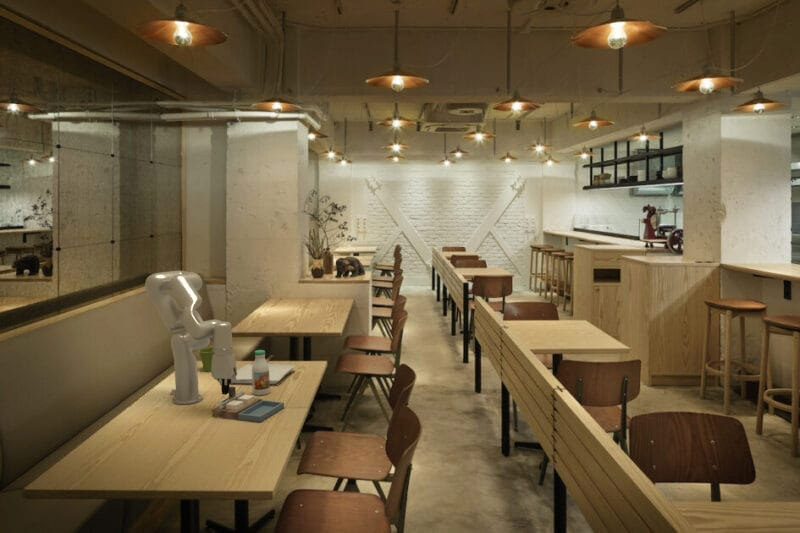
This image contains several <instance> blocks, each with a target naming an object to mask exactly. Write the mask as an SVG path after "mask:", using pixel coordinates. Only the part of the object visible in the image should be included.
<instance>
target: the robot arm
mask: <svg viewBox="0 0 800 533" xmlns="http://www.w3.org/2000/svg"><path fill="white" fill-rule="evenodd" d="M202 287H203V279H202V277H201V276H200V275H199V274H198V273H196V272H191V271H185V270H171V271H162V272H156V273H152V274H151V275H149V276H148V277H147V278H146V280H145V284H144V288H145V293H146V294H147V297H148V299H149V300H150V301H151V303H152V304H153V305H154V307H155V309H156V310H157V312H158V315H159V316H160V318H161V321H162V323H163V324H164V326H165V328H166V329H167V331H169V332H175V333H174V334H173V335H172V336H171V338H170V346H171V350H172V356H173V363H174V380H175V382H174V384H175V389H174V388H173V389H171V391H170V392H169V395H170V396H174V398H172V403H173V404H175V405H179V406H180V405H181V406H183V405H192V404H196V403H199V402H201V401H202V400H203V395H202V394H199V392H200V391H199V377H198V376H199V374H198V360H197V357H196V356H195V355H194V353H193V351H196V350H197V351H198V350H200V349H203V348H207V347H208V346H209V344H210V343H211V339H213V347H214V348H213V349H212V350H213V351H214V354H213V357H212V365H211V372H210V373H211V377H212V378H213V379H214V380H215V381H218V383H219V385H220V386H221V388H220V389H221V395H227V394H228V395H229V387H231V386H230V384H232V383H231V382H232V381H235V380H236V376H237V370H238V369H237V368H238V367H237V362H236V361H237V360H236V355H235V353H234V349H233V330H232V323H231V322H229V321H222V320H219V319H208V320H203V319H202V316H201V315H200V313H199V311H198V310H197V309H198V308H199V307H200V306H201V305H202V303H203V298H202V296H201V295H200V294H199V293H198V291H200V290H201V289H202ZM166 291H172V293H173V294H174V296H175V297H176V299H177V301H178V302H179V303H180V305H181V307H182V308H180V306H178V304H177V301H176V300H175V299H174V297H173V296H171V295H170V294H168V293H166Z"/></svg>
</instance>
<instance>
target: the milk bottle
mask: <svg viewBox="0 0 800 533" xmlns="http://www.w3.org/2000/svg"><path fill="white" fill-rule="evenodd" d="M254 356H255V357H254V362H253V363H252V364H253V367H252V384H251V385H252V394H253V396H266V395H268V394H270V393H271V392H270V391H271V389H270V388H271V386H270V385H271V384H270V379H269V367H268V364H269V363H268V362H266V360H265V359H266V357H265V356H266V351H265V350H264V349H257V350H255V351H254Z"/></svg>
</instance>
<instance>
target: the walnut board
mask: <svg viewBox="0 0 800 533" xmlns="http://www.w3.org/2000/svg"><path fill="white" fill-rule="evenodd" d="M254 399H255V400H254V401H252V402H250V403H249V404H244V406H243V407H241V408H239V409H238V410H231V409H226V407H225V408H223V409H219V405H218V406H217V407H215V408H213V409H211V412H212V413H211V414H212V418H220V419H226V420H227V419H229V420H235V419H236V420H237V421H239V420H238V413H240V412H242V411H244V410H246V409H247V408H249V407H251V406H253V405H255V404H256V403H258V402H260V401H262V400H263V399H262V398H257V397H254Z"/></svg>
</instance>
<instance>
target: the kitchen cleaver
mask: <svg viewBox="0 0 800 533" xmlns="http://www.w3.org/2000/svg"><path fill="white" fill-rule="evenodd" d="M273 358H275V355H274V354H271V355H269V356H268V357H267V358H265V360H266V362H267V363H269V361H271V360H272V359H273Z"/></svg>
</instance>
